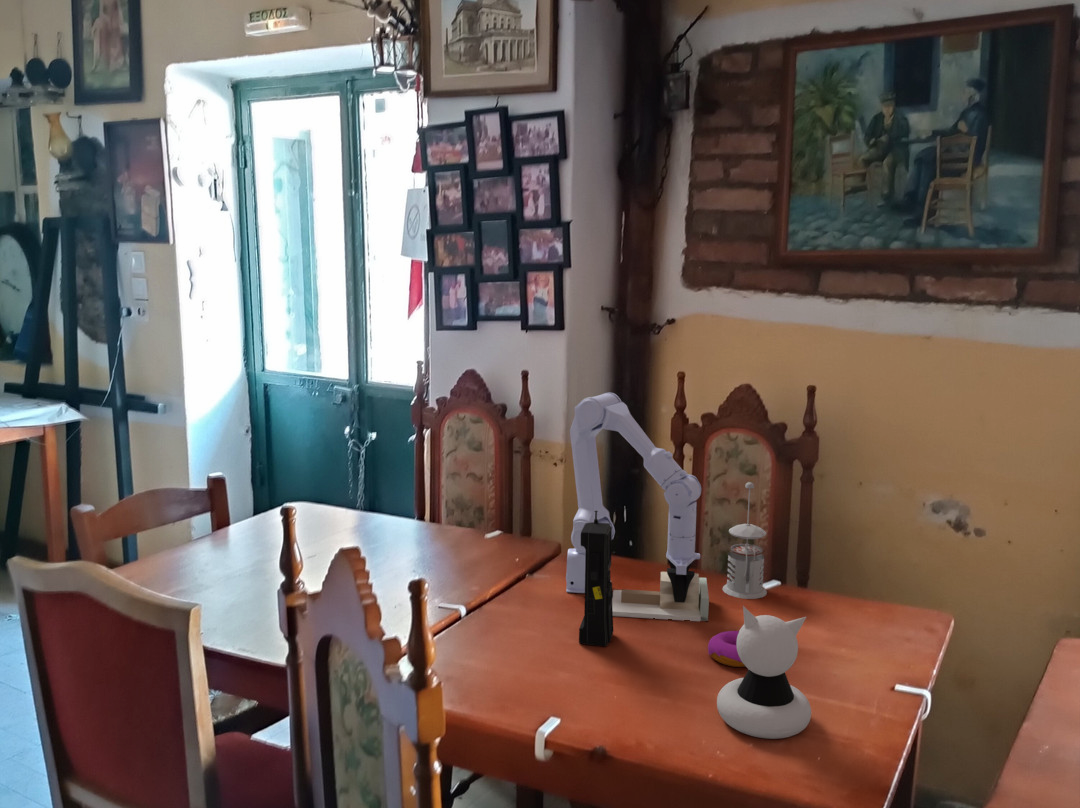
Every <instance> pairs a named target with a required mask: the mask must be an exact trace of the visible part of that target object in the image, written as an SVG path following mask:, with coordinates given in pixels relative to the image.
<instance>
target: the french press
mask: <svg viewBox="0 0 1080 808" xmlns="http://www.w3.org/2000/svg"><path fill="white" fill-rule="evenodd" d="M745 489H748V502H747V503H748V505H747V508H748V509H747V521H746V522H747V523H742V524H736V525H734V526H733V527H731V528H729V530H728V533H729V534H730V535H731V536H733V537H735V538H738V539H744V540H746V543H737V544H733V545H731V546H730V548H729V549H730V552H728V554H727V555H728V556H727V557H728V558H727V560H728V562H727V566H728V567H729V568H727V572H728V573H727V576H726V577H727V578H729V579H726V584H724V585H723V586H722V591H723V592H724V594H727V595H728V596H731V597H734V598H738V599H748V600H753V599H754V600H755V599H761V598H764V597H766V595H767V594H768V590H766V589H765V588H764V568H765V566H764V565H765V564H764V563H765V556H764V554H763V553H764V549H763V548H762V547H760V546H758V545H755V544H754V543H753V544H749V541H748V540H759V539H762V538H763V537H765V536H766V535H767V532H766V531H765V530H764V529H763V528H762V527H759V526H758V525H754V524H751V523H749V519H750V504H751V503H750V502H751V500H750V499H751V489H755V484H754V483H753V482H750V481H748V482H746V483H745ZM729 562H730V563H729ZM733 577H734V578H733Z"/></svg>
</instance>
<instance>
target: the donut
mask: <svg viewBox="0 0 1080 808" xmlns="http://www.w3.org/2000/svg"><path fill="white" fill-rule="evenodd" d="M739 631H740V630H728V631H727V630H726V631H722V632H720V633H717V634H715V635H714V636H712V637H711V638H710V640H709V641H708V645H707V651H708V652H707V653H708V655H709V656H711V657H712V659H714V660H715V661H716V662H718V663H720V664H722V665H725V666H729V667H734V668H736V667H737V668H743V667H745V668H746V666H745V665H744V664H743V662H742V661H741V659H740V657H739V655H738V652H737V644H736V643H737V636H738V633H739Z"/></svg>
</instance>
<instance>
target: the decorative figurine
mask: <svg viewBox="0 0 1080 808" xmlns="http://www.w3.org/2000/svg"><path fill="white" fill-rule="evenodd" d="M742 611H743V621H744V622H743V625H742V626H741V627H740V629H739V630H738V631H739V633H738V636H737V643H736V644H737V652H738V655H739V657H740V659H741V661H742V662H743V664H744V665H745V668H747V671H746V673H745V675H744V677H740V678H736V679H734V680H732V681H729V682H727V683H726V684H725V685H724V686H723V687H722V688H721V689H720V691H719V692H718V694H717V697H716V708H717V711H718V713H719V715H720V717H721V718H722V720H723V721H724V722H725V723H726V724H727V725H729V727H731V728H733V729H734V730H736V731H738V732H740V733H741V734H744V735H748V736H751V737H755V738H760V739H769V740H770V739H772V740H773V739H775V740H777V739H785V738H790V737H792V736H795V735H797V734H799V733H801V732H802V731H804V730H805V729H806V728H807V726H808V725H809V723H810V722H811V717H812V708H811V704H810V702H809V700H808V698H807V697H806V696H805V694H804V693H803V692H801V690H799V689H798V688H797V687H795V686H793V685H791V684H790V682H789V679H788V677H787V675H786V672H787V671H788V670H789V669H790V668H791V667H792V666H793V664H794V663H795V662H796V660H797V656H798V652H799V644H798V638H797V635H798V633H799V631H800V630H801V628H802V626H803V624H804V622H805V621H806V619H807V616H803V617H801V618H800V617H799V618H797V619H792V620H789V621H785V620H782V618H779V617H777V616H773V615H768V614H764V615H762V614H761V615H758V616H757V615H756V616H755V615H754V614H752V613H751V612H750V611H749V610H748V609H747V608H746V607H745V605H742Z"/></svg>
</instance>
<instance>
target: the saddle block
mask: <svg viewBox="0 0 1080 808" xmlns="http://www.w3.org/2000/svg"><path fill="white" fill-rule="evenodd" d="M699 575H700V574H699V573H695V575H694V577H693V579H692V580H691V582H690V585H689V588H688V592H687V596H686V600H685V602H684V603H682V602H675V601H674V596H673V589H672V584H671V581H670V578H669V576H668V574H667V571H660V580H659V581H660V582H659V583H660V585H659V586H660V587H659V592H660V608H664V609H680V610H696V611H698V609H699V584H700V583H699V577H700V576H699Z"/></svg>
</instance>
